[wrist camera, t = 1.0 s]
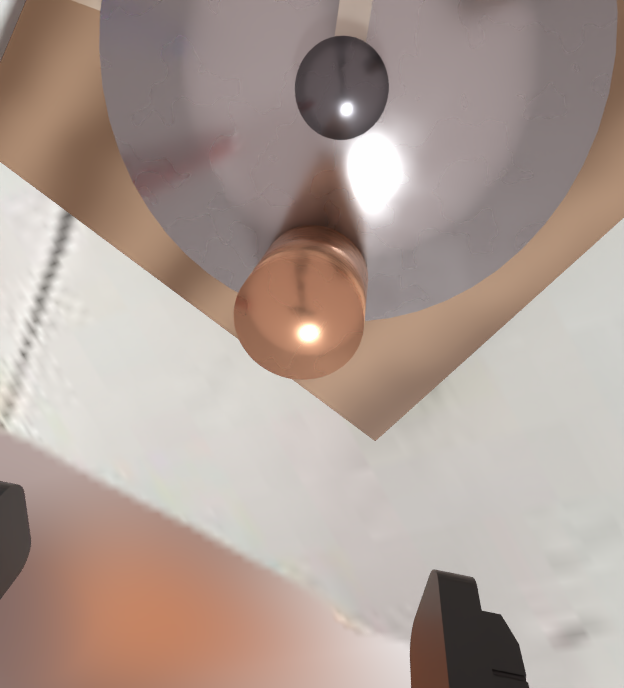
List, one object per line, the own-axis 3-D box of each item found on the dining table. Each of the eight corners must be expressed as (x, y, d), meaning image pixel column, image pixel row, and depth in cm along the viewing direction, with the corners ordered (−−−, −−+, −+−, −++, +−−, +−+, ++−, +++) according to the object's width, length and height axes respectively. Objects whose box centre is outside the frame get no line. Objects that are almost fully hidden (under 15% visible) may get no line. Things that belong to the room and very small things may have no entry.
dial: (108, -276, 18) (-20, -440, 13) (699, -198, 17) (854, -337, 12) (120, 280, 28) (50, 333, 22) (506, 351, 27) (540, 425, 21)
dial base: (-5, 134, 28) (-35, 138, 26) (297, -553, 17) (286, -638, 15) (375, 421, 32) (375, 443, 30) (800, 29, 22) (843, 24, 20)
